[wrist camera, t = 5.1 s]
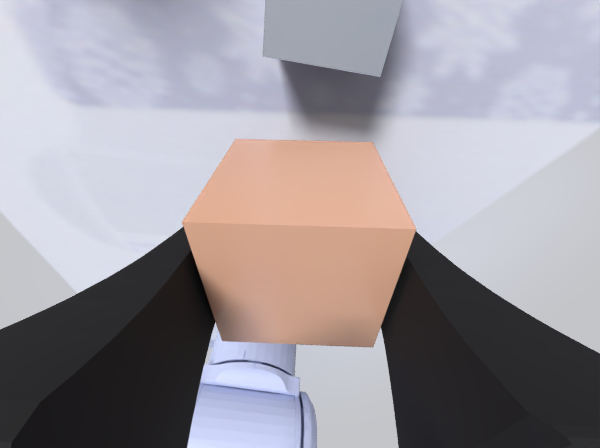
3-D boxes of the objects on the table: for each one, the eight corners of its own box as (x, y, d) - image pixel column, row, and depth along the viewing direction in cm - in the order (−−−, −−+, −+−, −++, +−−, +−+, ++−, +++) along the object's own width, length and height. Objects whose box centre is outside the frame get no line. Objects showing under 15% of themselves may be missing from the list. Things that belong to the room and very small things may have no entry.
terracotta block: (354, 244, 13) (373, 347, 9) (250, 241, 13) (222, 341, 9) (372, 142, 9) (416, 229, 6) (235, 139, 10) (182, 222, 6)
